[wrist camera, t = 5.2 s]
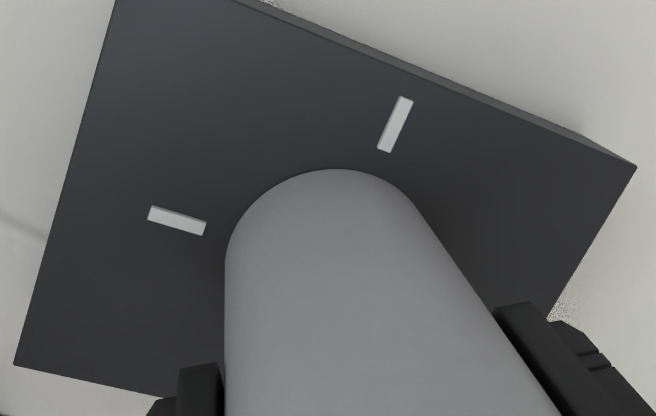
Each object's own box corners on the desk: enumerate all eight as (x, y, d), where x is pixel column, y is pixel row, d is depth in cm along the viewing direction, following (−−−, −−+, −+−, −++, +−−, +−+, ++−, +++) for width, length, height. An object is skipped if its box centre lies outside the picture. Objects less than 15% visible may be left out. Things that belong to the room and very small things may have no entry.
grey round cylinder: (196, 324, 17) (165, 709, 8) (268, 137, 15) (321, 389, 7) (379, 371, 18) (507, 734, 10) (465, 206, 17) (707, 481, 8)
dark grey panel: (42, 305, 19) (10, 369, 17) (144, -48, 16) (126, -44, 13) (431, 402, 23) (460, 467, 20) (582, 135, 20) (642, 168, 17)
